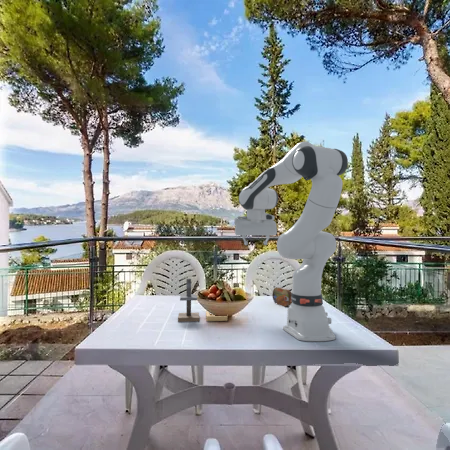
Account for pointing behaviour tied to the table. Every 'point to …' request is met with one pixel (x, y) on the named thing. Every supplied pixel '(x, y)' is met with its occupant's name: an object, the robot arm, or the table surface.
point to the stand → (188, 304)
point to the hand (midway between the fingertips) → (255, 244)
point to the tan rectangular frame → (215, 317)
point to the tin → (282, 296)
